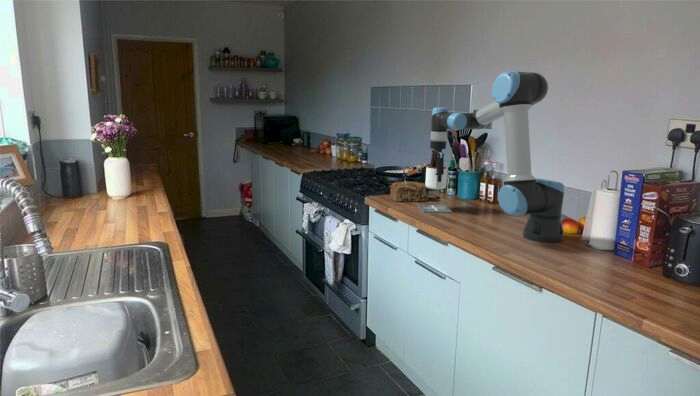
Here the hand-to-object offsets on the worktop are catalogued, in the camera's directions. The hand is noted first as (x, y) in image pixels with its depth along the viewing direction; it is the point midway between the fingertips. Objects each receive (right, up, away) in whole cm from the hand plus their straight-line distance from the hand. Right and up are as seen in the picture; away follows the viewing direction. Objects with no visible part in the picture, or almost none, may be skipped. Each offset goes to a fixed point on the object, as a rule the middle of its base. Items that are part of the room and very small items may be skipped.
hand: (435, 186), depth 228 cm
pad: (0, -11, +2) cm, 12 cm away
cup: (0, -1, 0) cm, 1 cm away
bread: (-10, -7, +23) cm, 26 cm away
